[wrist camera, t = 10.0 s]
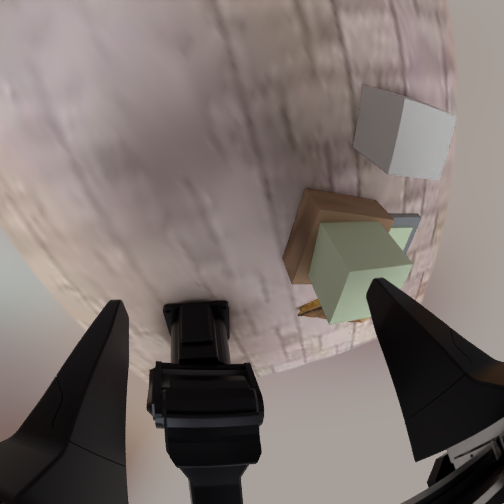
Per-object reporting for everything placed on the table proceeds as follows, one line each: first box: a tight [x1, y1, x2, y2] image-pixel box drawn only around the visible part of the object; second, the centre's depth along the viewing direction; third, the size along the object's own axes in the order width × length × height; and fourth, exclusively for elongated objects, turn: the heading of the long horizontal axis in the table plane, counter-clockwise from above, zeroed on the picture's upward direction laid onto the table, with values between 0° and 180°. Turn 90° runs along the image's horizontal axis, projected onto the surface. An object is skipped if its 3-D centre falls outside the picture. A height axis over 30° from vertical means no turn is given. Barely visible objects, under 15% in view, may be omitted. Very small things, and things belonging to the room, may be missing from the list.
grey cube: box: [353, 85, 456, 180], centre depth 16 cm, size 5×5×5 cm
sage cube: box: [308, 221, 413, 325], centre depth 19 cm, size 5×5×5 cm
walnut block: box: [283, 189, 395, 284], centre depth 23 cm, size 7×7×4 cm
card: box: [389, 214, 421, 254], centre depth 25 cm, size 5×5×1 cm
